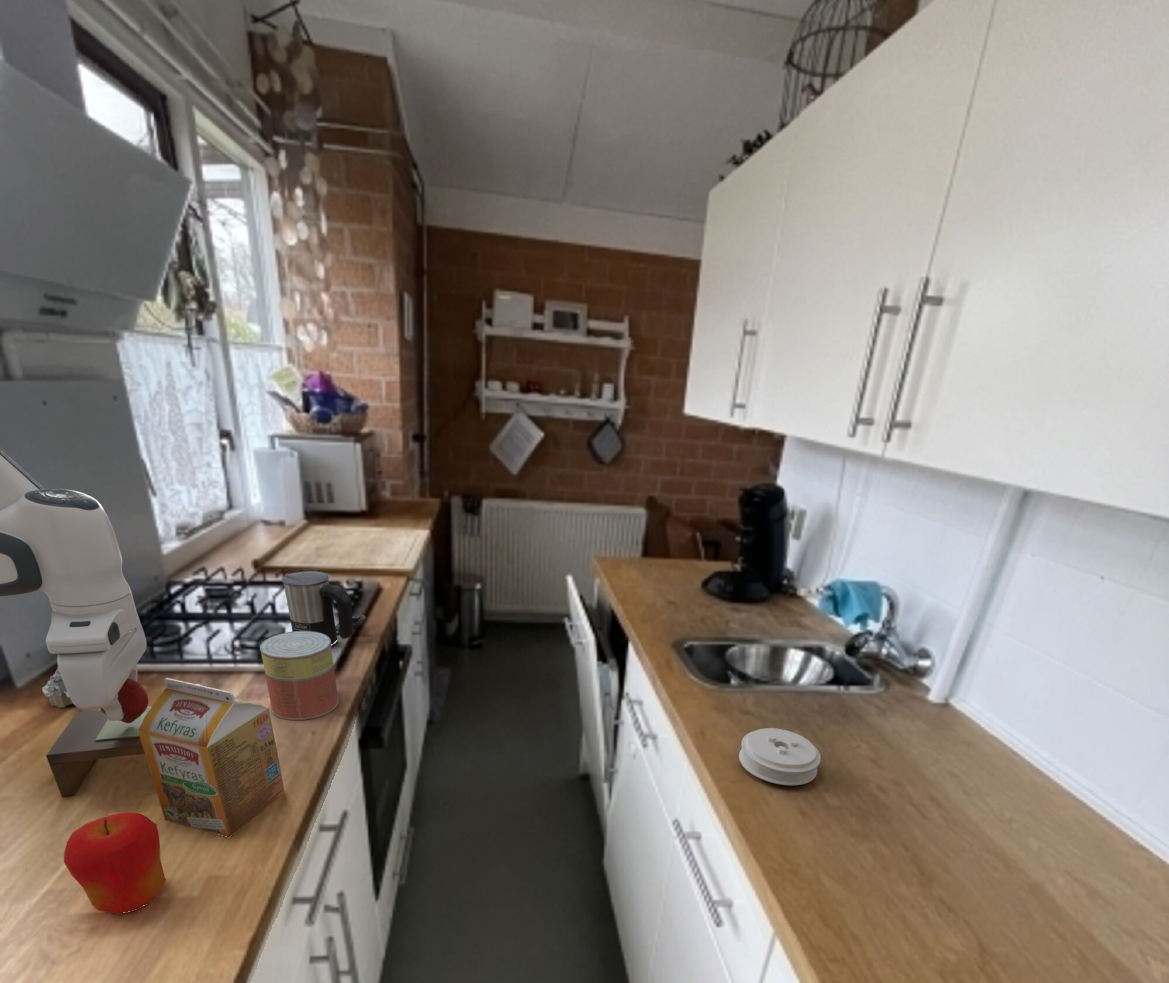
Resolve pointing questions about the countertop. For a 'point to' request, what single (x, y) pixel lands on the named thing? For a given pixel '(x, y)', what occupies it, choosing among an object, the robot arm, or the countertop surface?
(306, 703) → the canned food
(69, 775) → the shelf
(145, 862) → the apple
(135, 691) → the onion
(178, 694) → the milk carton
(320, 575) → the milk frother
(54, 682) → the egg carton
